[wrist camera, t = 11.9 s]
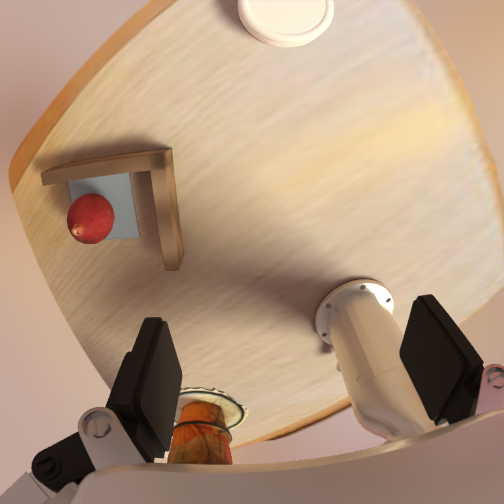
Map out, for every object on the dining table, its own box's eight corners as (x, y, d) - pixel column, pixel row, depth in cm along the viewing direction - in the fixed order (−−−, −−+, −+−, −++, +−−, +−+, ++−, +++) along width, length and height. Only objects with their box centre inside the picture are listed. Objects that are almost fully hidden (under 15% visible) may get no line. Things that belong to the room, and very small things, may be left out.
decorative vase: (207, 363, 48) (203, 530, 23) (273, 417, 58) (288, 537, 34) (125, 393, 52) (101, 521, 28) (196, 438, 63) (194, 543, 38)
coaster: (299, -34, 23) (305, -45, 19) (341, 31, 27) (352, 24, 24) (222, -5, 25) (220, -16, 21) (265, 61, 29) (267, 56, 26)
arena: (183, 254, 39) (178, 270, 35) (78, 258, 38) (65, 273, 35) (171, 148, 33) (163, 153, 29) (57, 165, 32) (40, 173, 29)
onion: (126, 228, 36) (102, 258, 29) (88, 229, 36) (59, 258, 29) (120, 184, 34) (92, 205, 27) (80, 187, 34) (48, 209, 26)
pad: (140, 236, 37) (139, 237, 37) (81, 240, 37) (80, 241, 37) (129, 168, 33) (128, 168, 33) (68, 177, 33) (67, 177, 33)
